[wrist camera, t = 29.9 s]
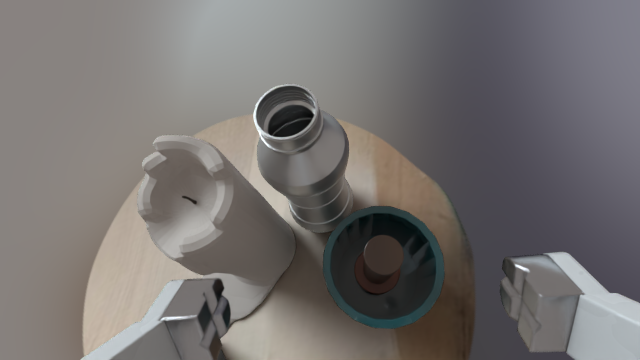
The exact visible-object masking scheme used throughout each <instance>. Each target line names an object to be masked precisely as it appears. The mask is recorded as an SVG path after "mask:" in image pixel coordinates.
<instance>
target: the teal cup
mask: <svg viewBox="0 0 640 360" xmlns="http://www.w3.org/2000/svg"><path fill="white" fill-rule="evenodd" d="M379 235H387V236H390V237H393V238H394V239H396V240H397V241H398V242H399V243H400V245H401V247H402V249H403V252H404V260H403V263H402V265H401V267H400V277H399V280H398V282H397V284H396V286H395V287H394V288H393V289H391V290H390V291H388V292H386V293H384V294H381V295H372V294H369V293H367V292H365V291H364V290H363V289H362V288H361V287H360V286H359V284H358V283H357V280H356V277H355V272H354V268H355V262H356V260H357V258H358V256H359V255H360V254H361V253H362V252H363V251H364V249H365V246H366V244H367V243H368V241H369V240H370V239H372V238H373V237H375V236H379ZM323 274H324V277H325V281H326V285H327V289H328V291H329V293H330V294H331V296H332V297H333V299H334V300H335V302H336V304H337V305H338V306H339V308H340V309H342V310H343V311H344V312H345V313H346V314H348V315H349V316H350V317H351V318H352V319H354V320H355V321H358V322H360V323H362V324H365V325H367V326H370V327H374V328H384V329H393V328H394V329H395V328H399V327H402V326H406V325H409V324H412V323H414V322H415V321H417V320H418V319H419V318H421V317H422V316H424V315H425V314H426V313H428V311H430V309H431V308H432V306H433V305H434V303H435V302H436V300H437V299H438V297H439V296H440V293H441V289H442V285H443V281H444V277H445V276H444V275H445V272H444V260H443V254H442V252H441V249H440V247H439V244H438V242H437V240H436V238H435V236H434V235H433V234H432V232H431V231H430V230H429V229H428V227H427V226H426V225H425V224H424V223H423V222H422V221H420V220H419V219H417V218H416V217H415V216H413V215H412V214H410V213H409V212H407V211H403V210H400V209H397V208H394V207H390V206H371V207H368V208H364V209H361V210H358V211H356V212H353V213H352V214H351V215H349V216H348V217H346V218H345V219H343V220H342V221H341V222H340V223H339V224H338V225H337V227H336V228H335V229H334V231H333V232H332V233H331V234H330V236H329V239H328V242H327V244H326V247H325V250H324V254H323Z"/></svg>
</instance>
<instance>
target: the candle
mask: <svg viewBox="0 0 640 360" xmlns="http://www.w3.org/2000/svg"><path fill="white" fill-rule="evenodd" d="M152 145H153V146H154V147H155V149H156V150H157V151H156V152H154V153H152V154H151V155H149V156H148V157H147V158H146V159H144V161H143V163H142V166H143V168H144V170H145V171H146V175H145V178H144V180H143V182H142V184H141V186H140V188H139V192H138V200H137V205H138V213H139V214H140V215H141V217H142V218H143V219H144V220H145V222H146V226H147V230H148V232H149V234H150V237H151V239H152V241H153V242H154V244H155V245H156V246H157V247H158V248H159V249H160V251H161V252H163V253H164V254H165V255H166V256H167V257H169V258H170V259H172V260H174V261H176V262H178V263H180V264H181V265H183V266H184V267H186V268H187V269H189V270H191V271H193V272H195V273H198V274H200V275H204V276H203V278H220V279H222V282H223V285H224V288H225V289H224V291H223V293H222V295H223V296H224V297H226V298H227V299H228V300H229V304H230V309H231V319H230V324H231V323H232V322H233V321H235V320H238V319H241V318H243V317H245V316H247V315H249V314H250V313H251V312H252V311H253V310H254V309H256V308H257V307H258V306H259V305H260V304H261V303H262V302H263V300H264V299H265V298H266V296H267V295H268V294H269V292H270V291H271V290H272V288H273V287H274V285H275V284H276V282H277V281H278V279H279V278H280V276H281V275H282V274H283V272H284V271H285V270H286V269H287V268H288V266H289V265H290V263H291V262H292V259H293V257H294V254H295V247H296V243H295V237H294V234H293V231H292V229H291V228H290V226H289V225H288V224H287V223H286V222H285V220H284V219H283V218H282V217H281V216H280V215H279V214H278V213H277V212H276V211H275V210H274V209H273V208H272V206H271V205H270V204H269V203H268V202H267V201H266V200H265V198H264V197H263V196H262V195H261V194H260V193H259V192H258V191H257V190H256V189H255V188H254V187H253V186H252V185H251V184H250V183H249V182H248V181H247V180H246V179H245V178H244V177H243V176H242V175H241V173H240V172H239V171H238V170H237V169H236V168H235V167H234V166H233V165H232V164H231V163H230V161H229V160H228V159H227V158H226V157H225V156H224V155H223V154H222V153H221V152H220V151H219V150H218V149H217V148H216V147H214V146H213V145H212V144H210V143H208V142H206V141H204V140H201V139H198V138H194V137H190V136H182V135H165V136H158V137H157V139H156V140H155V141H154V143H153V144H152Z"/></svg>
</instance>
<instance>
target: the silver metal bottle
mask: <svg viewBox="0 0 640 360" xmlns="http://www.w3.org/2000/svg"><path fill="white" fill-rule="evenodd" d="M254 122H255V125H256V128H257V130H258V131H259V134H260V138H259V142H258V145H257V161H258V167H259V170H260V172H261V174H262V176H263V177H264V179H265V180H266V181H267V182H268V183H269V184H270V185H271V186H272V187H273V188H274V189H275V190H277V191H278V192H280V193H281V194H283V195H284V196H286V197H287V198H288V200H289V207H290V211H291V214H292V216H293V218H294V220H295V221H296V222H297V223H298V224H299V225H300V226H301V227H303V228H305V229H307V230H310V231H313V232H319V233H322V232H328V231H332V230H334V229H335V228H336V227H337V225H338V224H339V223H340V222H341V221H342V220H343V219H345V218H346V217H348V216H349V214H350V212H351V209H352V206H353V193H352V190H351V188H350V186H349V184H348V182H347V180H346V179H345V170H346V166H347V162H348V157H349V142H348V138H347V135H346V133H345V131H344V129H343V127H342V126H341V125H340V124H339V123H338V121H337V120H336V119H335V118H334V117H333V116H331V115H330V114H328V113H326V112H325V111H322V110H321V109H320V107H319V105H318V102H317V100H316V98H315V96H314V95H313V93H312V92H311V91H310V90H309V89H307V88H306V87H303V86H301V85H297V84H283V85H280V86H276V87H274V88H272V89H271V90H269V91H268V92H266V93H265V94H264V95H263V96H262V97H261V98H260V99H259V101H258V102H257V104H256V106H255V110H254Z"/></svg>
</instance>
